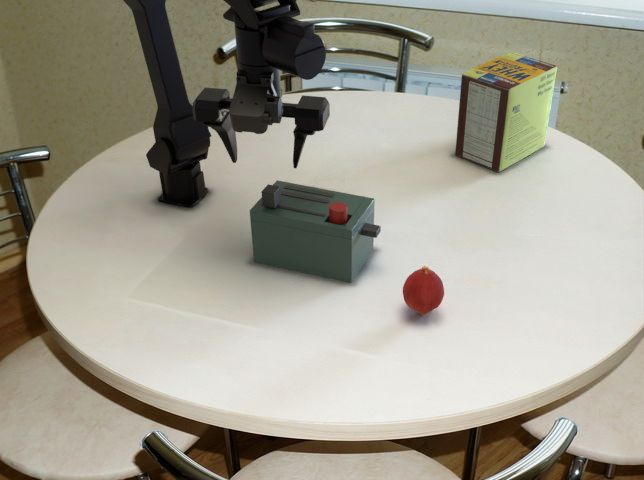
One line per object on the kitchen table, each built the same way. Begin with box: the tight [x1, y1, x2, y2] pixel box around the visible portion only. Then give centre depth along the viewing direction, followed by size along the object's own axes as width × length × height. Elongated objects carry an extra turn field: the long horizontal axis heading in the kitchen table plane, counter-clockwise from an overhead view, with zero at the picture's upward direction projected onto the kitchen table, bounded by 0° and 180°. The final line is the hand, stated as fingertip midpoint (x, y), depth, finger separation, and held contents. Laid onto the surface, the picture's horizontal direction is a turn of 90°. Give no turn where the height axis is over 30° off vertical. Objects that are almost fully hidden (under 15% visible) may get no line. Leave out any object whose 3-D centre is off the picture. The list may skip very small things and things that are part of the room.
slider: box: [260, 183, 281, 208], centre depth 125 cm, size 2×2×2 cm
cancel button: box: [329, 202, 347, 225], centre depth 123 cm, size 3×3×2 cm
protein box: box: [454, 51, 558, 173], centre depth 156 cm, size 10×15×16 cm
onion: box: [402, 265, 445, 315], centre depth 119 cm, size 6×6×8 cm
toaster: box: [249, 179, 382, 284], centre depth 129 cm, size 18×10×9 cm, turn 71°
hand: (265, 164), depth 127 cm, fingers open, 9 cm apart
